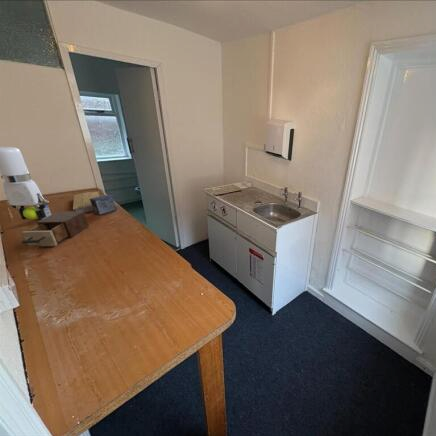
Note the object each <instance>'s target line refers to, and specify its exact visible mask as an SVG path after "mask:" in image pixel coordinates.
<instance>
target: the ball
mask: <svg viewBox="0 0 436 436" xmlns="http://www.w3.org/2000/svg"><path fill="white" fill-rule="evenodd" d="M36 211H37V210H36V209H35V208H34V206H27V207H25V210H24V211H23V215H24V217H26V218H27V219H28V220H37V219H38V220H39V218H38V216H37V214H36ZM27 219H26V220H27Z"/></svg>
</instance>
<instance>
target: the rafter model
mask: <svg viewBox="0 0 436 436" xmlns="http://www.w3.org/2000/svg"><path fill="white" fill-rule="evenodd" d="M99 196H100V192H99V191H90V192H88V191H87V192H82V193H76V194H73V206H72V210H74V211H84V213H89V212H94V210H93V207H92V204H91V201H90V199H91V198H95V197H99Z"/></svg>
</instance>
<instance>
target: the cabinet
mask: <svg viewBox="0 0 436 436" xmlns="http://www.w3.org/2000/svg"><path fill="white" fill-rule="evenodd" d="M42 223H64V224H65V226H66V229H67V232H68V234H69V236H67V237H66V238H65V239H73V238H74V237H75V236H77V235H78V234H80V233H81V232H83V231H85V230H86V229H88V228H89V227H90V226H89V225H90V224H89V221H88V219H87V215H86V212H84V211H75V210H64V211H63V210H62V211H60V210H59V211H56V212H54V213H51V215H50V216H48V217H46V218H44V219H39V220H38V221H36V224H37V226H38V225H40V224H42Z"/></svg>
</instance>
